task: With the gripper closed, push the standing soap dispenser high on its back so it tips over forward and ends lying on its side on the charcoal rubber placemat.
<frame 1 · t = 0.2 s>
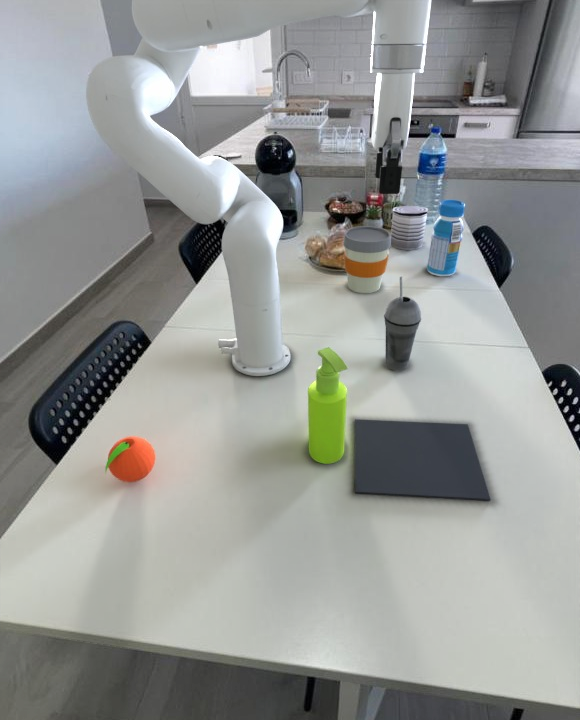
hand: (386, 185, 74), 37 cm above the table, tool pointing down, fingers open, 9 cm apart
clementine: (134, 476, 71), on the table
placemat: (415, 456, 74), on the table
reusable coffee cup: (363, 286, 125), on the table
beverage cup: (396, 364, 95), on the table
white striped cylinder: (406, 244, 151), on the table
soap dispenser: (327, 453, 75), on the table
beverage bottle: (440, 272, 133), on the table
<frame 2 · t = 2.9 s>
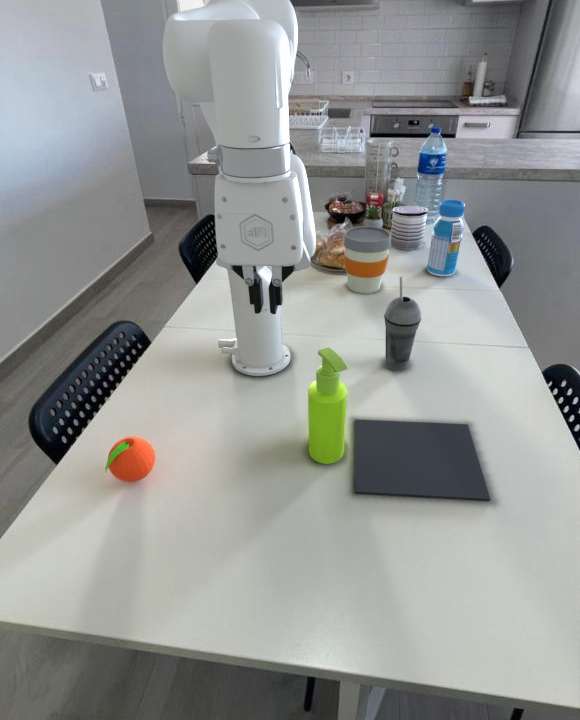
hand: (266, 308, 59), 27 cm above the table, tool pointing down, fingers closed
nothing on the table moved.
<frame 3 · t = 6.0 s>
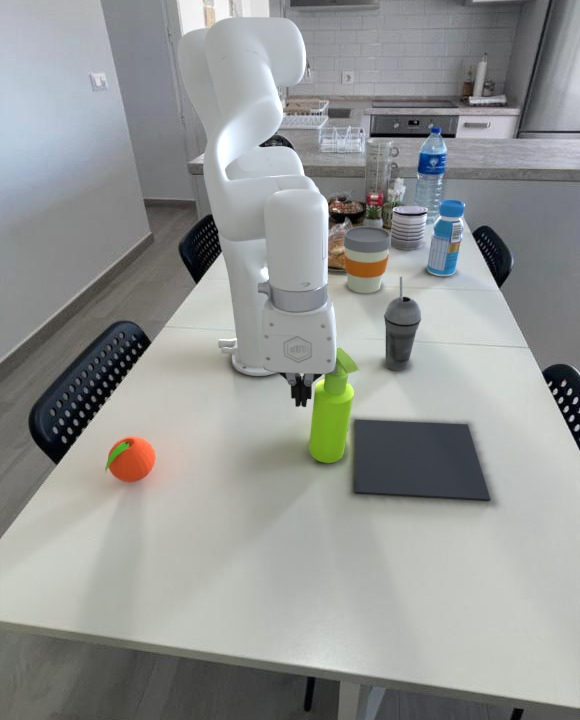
hand: (301, 400, 68), 11 cm above the table, tool pointing down, fingers closed
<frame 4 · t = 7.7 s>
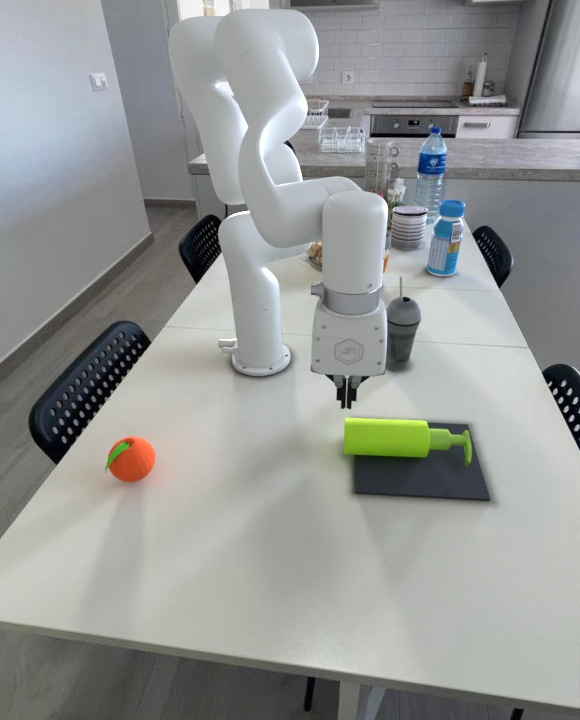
hand: (346, 402, 68), 11 cm above the table, tool pointing down, fingers closed
soap dispenser: (343, 438, 73), point 3 cm above the table, touching placemat
everything else where it was.
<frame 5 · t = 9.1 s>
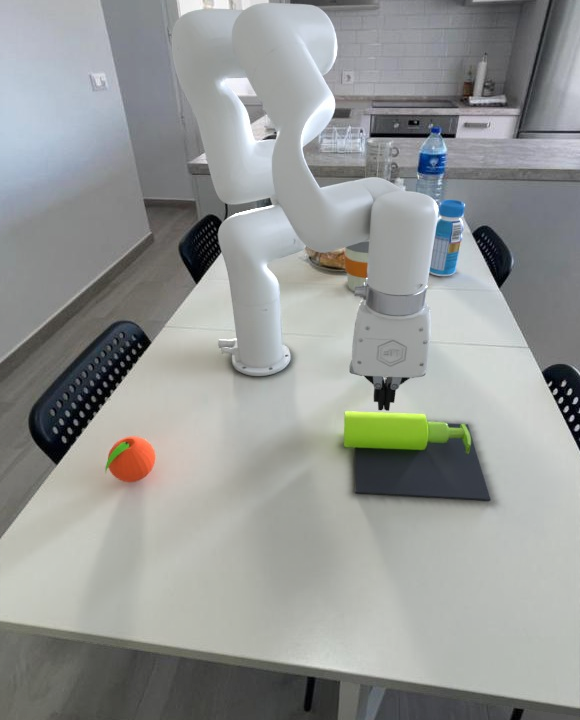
hand: (383, 404, 67), 11 cm above the table, tool pointing down, fingers closed
soap dispenser: (343, 431, 74), point 3 cm above the table, touching placemat
everything else where it was.
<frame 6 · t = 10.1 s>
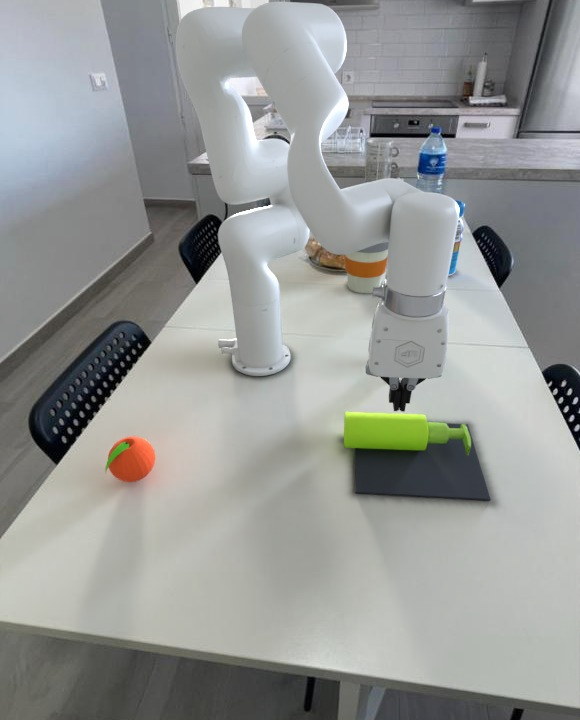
hand: (398, 405, 67), 11 cm above the table, tool pointing down, fingers closed
nothing on the table moved.
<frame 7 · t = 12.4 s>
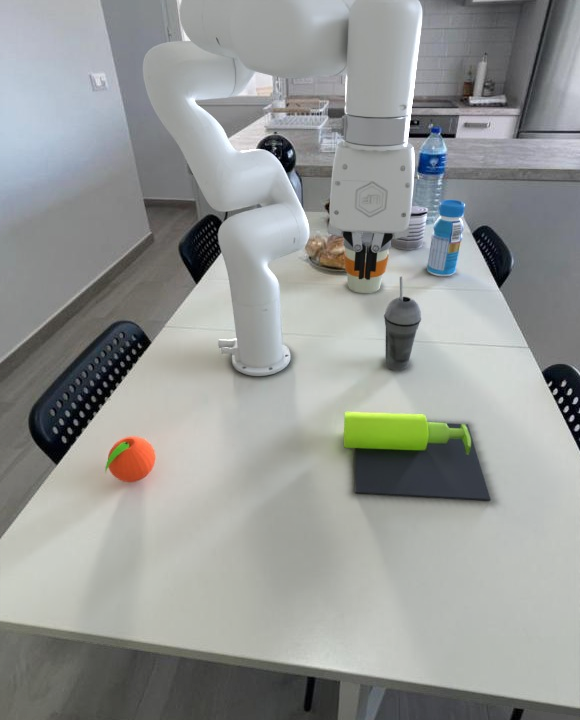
hand: (364, 275, 63), 29 cm above the table, tool pointing down, fingers closed
nothing on the table moved.
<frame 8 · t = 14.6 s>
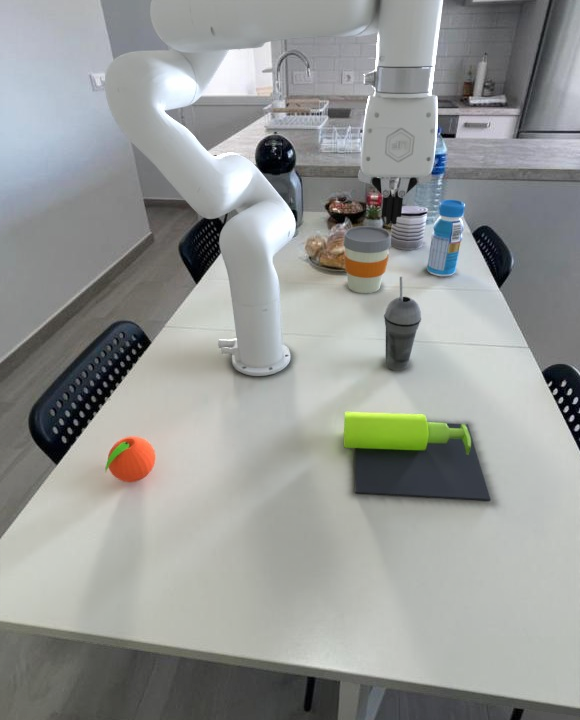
hand: (390, 221, 69), 33 cm above the table, tool pointing down, fingers closed
nothing on the table moved.
at the end: soap dispenser tilted 90°; soap dispenser touching placemat; soap dispenser inside the target area (4.4 cm from its centre), point 3.4 cm above the table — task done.
